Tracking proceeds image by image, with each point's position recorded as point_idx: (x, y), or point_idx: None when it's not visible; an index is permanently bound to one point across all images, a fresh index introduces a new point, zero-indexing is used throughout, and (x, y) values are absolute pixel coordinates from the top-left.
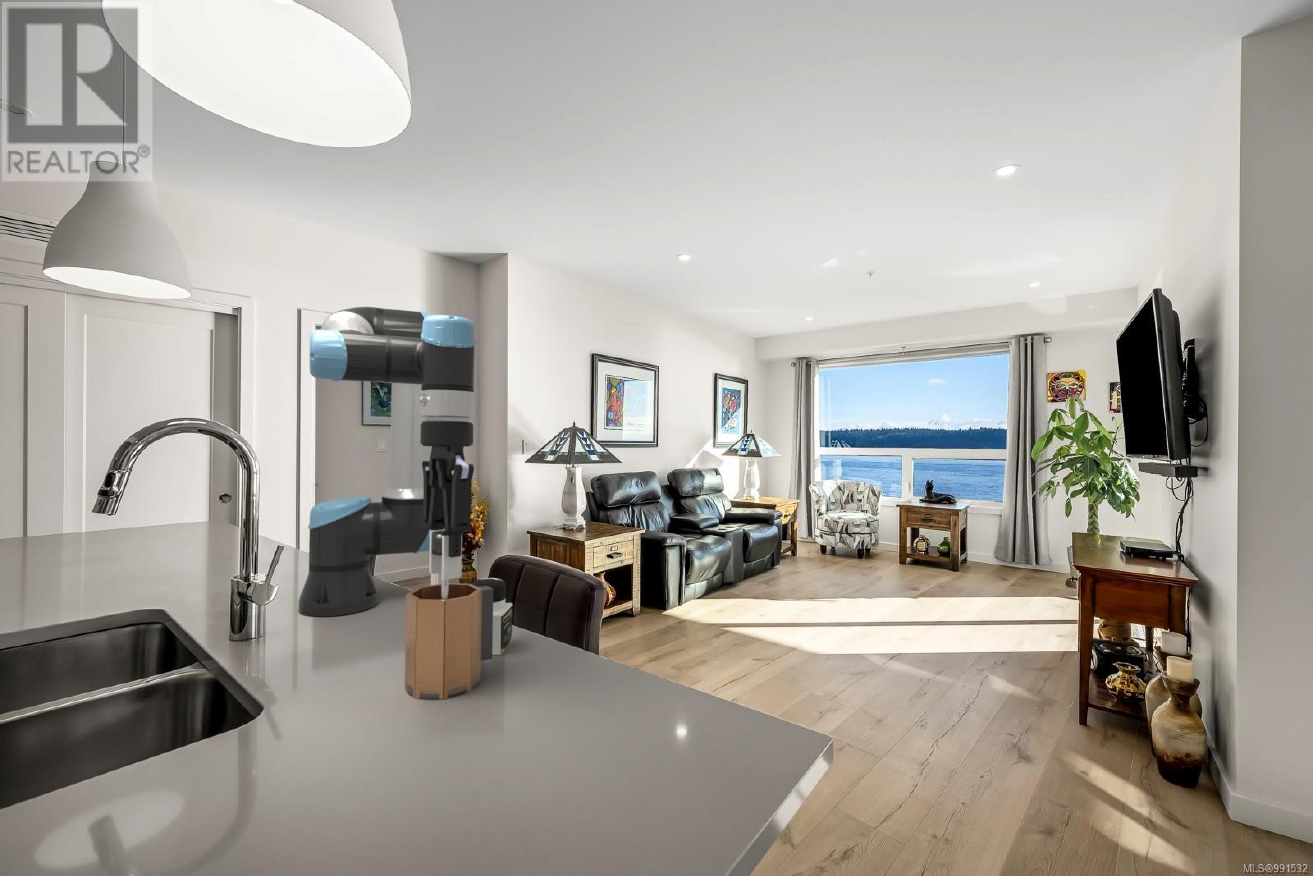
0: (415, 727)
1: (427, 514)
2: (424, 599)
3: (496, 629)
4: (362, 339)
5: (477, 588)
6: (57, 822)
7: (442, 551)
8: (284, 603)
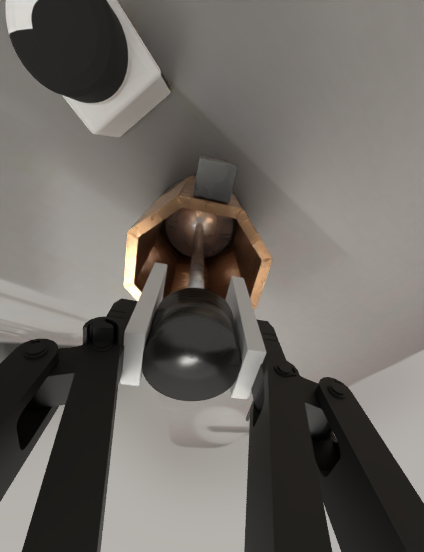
0: (263, 293)
1: (42, 428)
2: None
3: (158, 89)
4: None
5: (230, 213)
6: (195, 437)
7: None
8: None
